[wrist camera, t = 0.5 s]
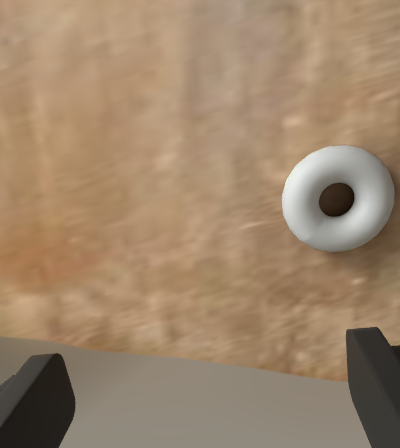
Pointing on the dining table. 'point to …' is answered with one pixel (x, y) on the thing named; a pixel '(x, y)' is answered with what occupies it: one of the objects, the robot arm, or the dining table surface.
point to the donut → (329, 174)
